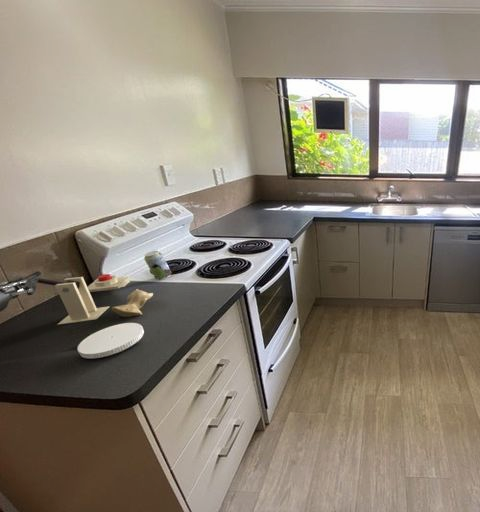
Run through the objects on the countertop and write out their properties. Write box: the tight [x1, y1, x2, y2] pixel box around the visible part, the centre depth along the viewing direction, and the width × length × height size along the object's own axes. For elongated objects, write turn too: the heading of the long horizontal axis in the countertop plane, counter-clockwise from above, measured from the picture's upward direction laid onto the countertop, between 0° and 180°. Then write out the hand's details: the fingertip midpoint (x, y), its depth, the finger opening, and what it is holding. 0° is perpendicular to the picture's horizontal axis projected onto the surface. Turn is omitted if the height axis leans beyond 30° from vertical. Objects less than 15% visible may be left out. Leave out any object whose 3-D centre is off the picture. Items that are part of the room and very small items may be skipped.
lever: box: [15, 270, 80, 289], centre depth 89 cm, size 12×8×2 cm, turn 108°
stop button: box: [97, 273, 112, 282], centre depth 113 cm, size 4×4×2 cm
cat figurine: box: [111, 288, 154, 318], centre depth 98 cm, size 8×7×12 cm
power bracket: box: [54, 276, 110, 326], centre depth 93 cm, size 10×8×14 cm
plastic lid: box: [77, 322, 145, 359], centre depth 83 cm, size 14×14×2 cm
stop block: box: [87, 274, 131, 293], centre depth 114 cm, size 11×9×4 cm
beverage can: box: [143, 250, 173, 281], centre depth 121 cm, size 6×7×12 cm
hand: (28, 279), depth 86 cm, fingers closed on lever, 2 cm apart
